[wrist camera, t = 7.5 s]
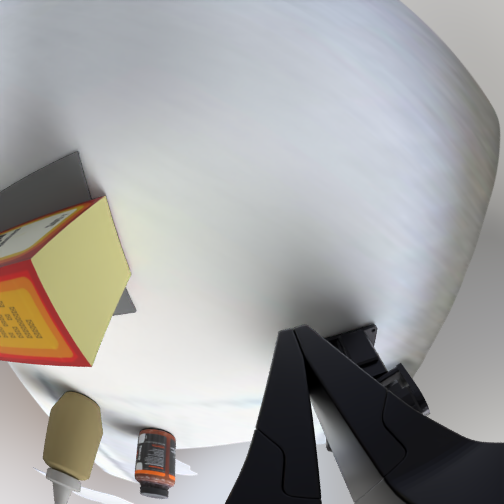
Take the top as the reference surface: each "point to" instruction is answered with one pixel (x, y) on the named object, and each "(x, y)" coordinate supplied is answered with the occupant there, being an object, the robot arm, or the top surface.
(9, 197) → the mat
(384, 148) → the top surface
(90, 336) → the baking soda box
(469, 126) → the top surface
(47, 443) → the squeeze bottle
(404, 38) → the top surface
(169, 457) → the supplement bottle
